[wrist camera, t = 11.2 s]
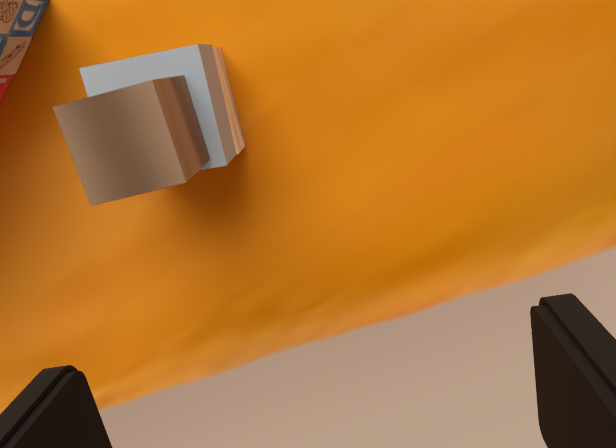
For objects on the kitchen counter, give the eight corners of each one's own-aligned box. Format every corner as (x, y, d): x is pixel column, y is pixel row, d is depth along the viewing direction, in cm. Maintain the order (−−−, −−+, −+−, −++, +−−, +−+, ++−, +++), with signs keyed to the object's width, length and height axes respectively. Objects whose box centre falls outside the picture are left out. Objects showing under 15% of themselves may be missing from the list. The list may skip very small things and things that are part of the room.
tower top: (211, 45, 33) (197, 44, 30) (236, 153, 36) (226, 165, 32) (106, 66, 34) (79, 68, 30) (136, 171, 36) (115, 185, 32)
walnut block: (184, 74, 30) (152, 79, 24) (210, 159, 32) (186, 182, 26) (102, 97, 31) (52, 106, 25) (132, 179, 32) (91, 206, 26)
